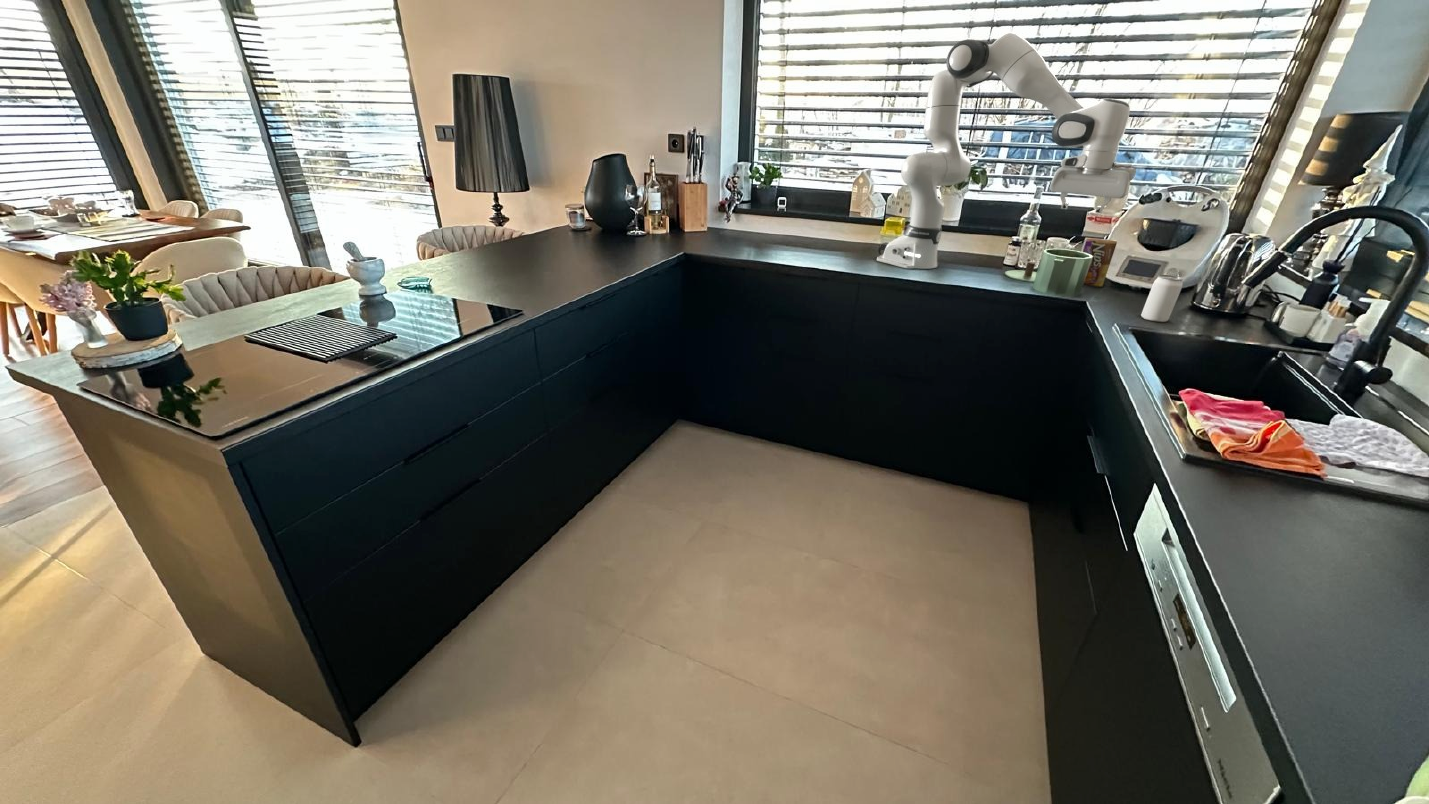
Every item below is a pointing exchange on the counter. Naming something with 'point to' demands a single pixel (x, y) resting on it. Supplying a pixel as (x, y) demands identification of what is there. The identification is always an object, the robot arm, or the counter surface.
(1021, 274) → the lid
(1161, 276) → the can
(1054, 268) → the pot
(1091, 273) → the candy box
